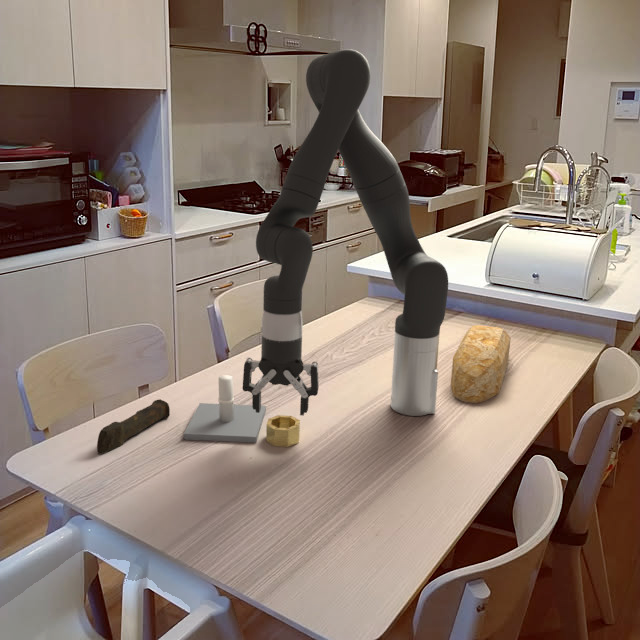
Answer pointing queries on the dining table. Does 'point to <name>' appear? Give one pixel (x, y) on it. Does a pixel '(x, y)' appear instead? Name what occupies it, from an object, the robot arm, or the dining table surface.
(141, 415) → the hand tool
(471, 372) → the bread
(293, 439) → the ring
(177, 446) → the dining table surface
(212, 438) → the post base
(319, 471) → the dining table surface
